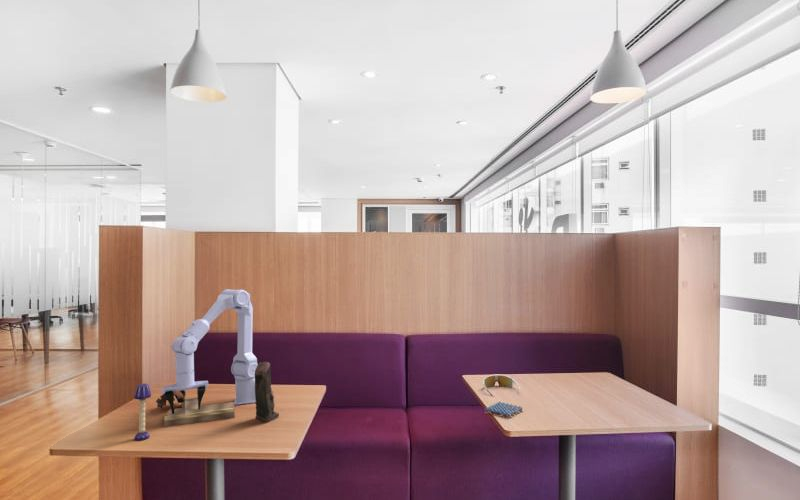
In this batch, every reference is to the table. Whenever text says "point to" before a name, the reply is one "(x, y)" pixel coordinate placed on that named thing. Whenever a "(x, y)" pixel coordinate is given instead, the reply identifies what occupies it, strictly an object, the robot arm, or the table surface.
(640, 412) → the table surface
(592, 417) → the table surface
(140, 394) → the toy lamp
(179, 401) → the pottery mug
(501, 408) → the woven mat
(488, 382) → the sunglasses
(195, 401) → the wooden mallet
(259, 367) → the statue
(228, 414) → the walnut board
